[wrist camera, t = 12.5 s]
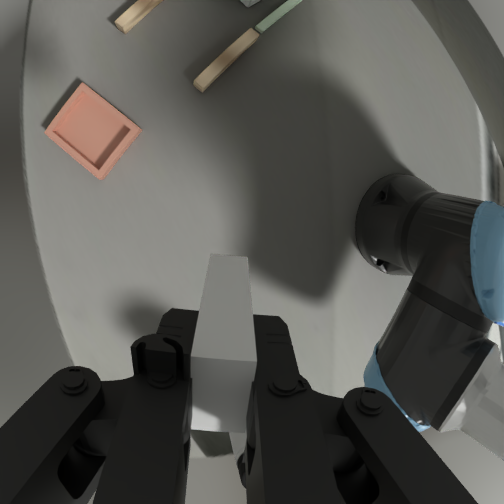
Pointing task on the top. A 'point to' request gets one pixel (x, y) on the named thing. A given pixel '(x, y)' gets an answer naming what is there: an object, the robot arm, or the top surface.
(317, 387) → the top surface
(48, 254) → the top surface
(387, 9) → the top surface
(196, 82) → the channel
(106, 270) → the top surface
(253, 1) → the supplement box
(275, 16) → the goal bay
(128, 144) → the pit tray
